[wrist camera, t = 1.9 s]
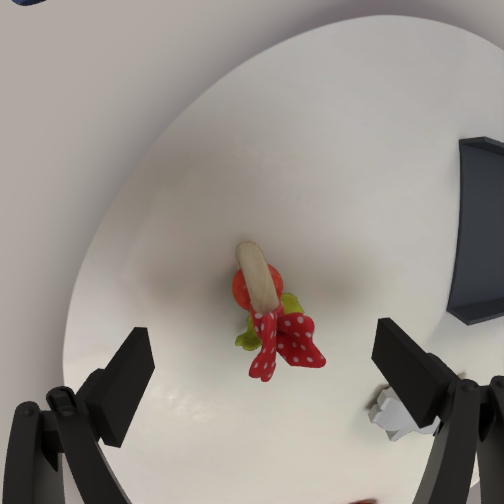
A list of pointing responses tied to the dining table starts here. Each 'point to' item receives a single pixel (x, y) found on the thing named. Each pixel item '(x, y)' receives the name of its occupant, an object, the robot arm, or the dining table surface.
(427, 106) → the dining table surface
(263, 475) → the dining table surface
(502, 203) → the scoop
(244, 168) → the dining table surface
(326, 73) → the dining table surface
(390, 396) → the bunny figurine
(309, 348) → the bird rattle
